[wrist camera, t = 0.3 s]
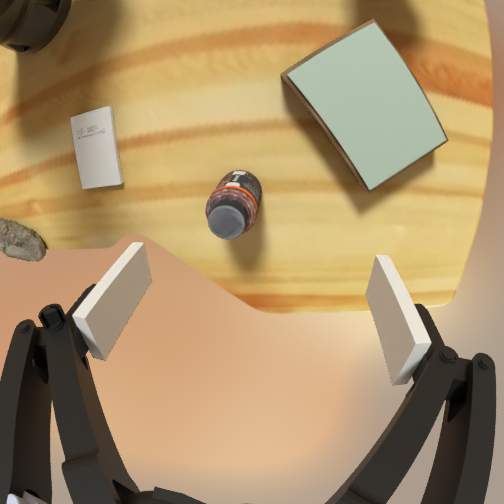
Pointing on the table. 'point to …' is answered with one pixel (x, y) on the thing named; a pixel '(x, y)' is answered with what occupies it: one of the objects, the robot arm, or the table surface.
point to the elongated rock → (20, 241)
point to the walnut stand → (367, 104)
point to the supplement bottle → (234, 204)
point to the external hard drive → (97, 148)
